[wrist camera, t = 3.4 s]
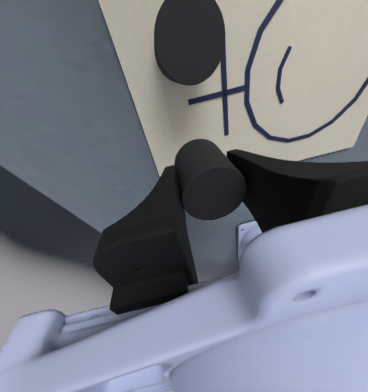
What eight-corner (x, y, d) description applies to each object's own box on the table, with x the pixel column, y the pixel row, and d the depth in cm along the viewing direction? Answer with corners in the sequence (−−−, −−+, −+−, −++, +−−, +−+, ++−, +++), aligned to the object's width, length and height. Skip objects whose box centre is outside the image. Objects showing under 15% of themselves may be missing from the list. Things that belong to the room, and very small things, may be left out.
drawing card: (350, 145, 19) (354, 147, 18) (165, 193, 19) (165, 195, 19) (456, -96, 10) (466, -102, 9) (98, -1, 10) (97, -3, 10)
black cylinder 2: (222, 176, 13) (246, 212, 10) (180, 187, 13) (188, 226, 10) (219, 132, 11) (248, 158, 8) (168, 145, 11) (174, 176, 8)
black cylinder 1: (207, 76, 13) (227, 76, 9) (162, 88, 13) (165, 92, 9) (200, 8, 10) (224, -26, 7) (146, 22, 11) (142, -4, 7)
